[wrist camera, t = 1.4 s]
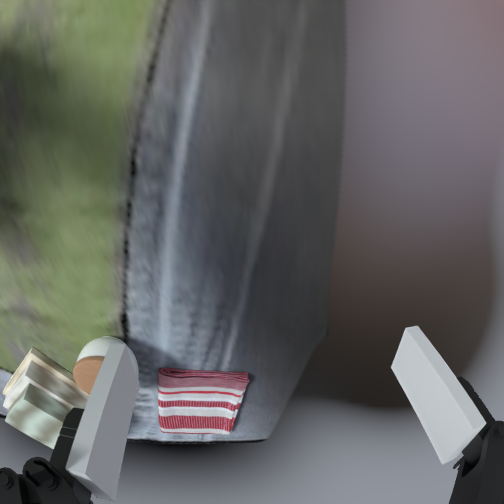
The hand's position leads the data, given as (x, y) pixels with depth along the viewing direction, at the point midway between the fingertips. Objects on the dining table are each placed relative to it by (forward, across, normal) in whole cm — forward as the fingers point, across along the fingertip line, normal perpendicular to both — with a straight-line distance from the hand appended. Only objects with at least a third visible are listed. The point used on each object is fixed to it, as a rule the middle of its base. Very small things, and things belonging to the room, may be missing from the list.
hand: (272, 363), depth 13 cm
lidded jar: (+27, -23, -24) cm, 42 cm away
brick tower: (+26, -42, -40) cm, 63 cm away
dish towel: (+30, -10, -42) cm, 52 cm away
